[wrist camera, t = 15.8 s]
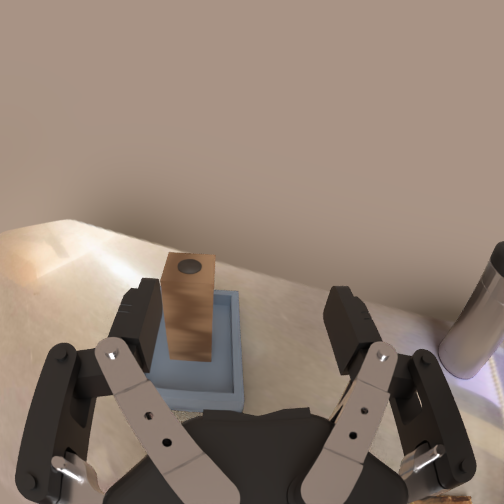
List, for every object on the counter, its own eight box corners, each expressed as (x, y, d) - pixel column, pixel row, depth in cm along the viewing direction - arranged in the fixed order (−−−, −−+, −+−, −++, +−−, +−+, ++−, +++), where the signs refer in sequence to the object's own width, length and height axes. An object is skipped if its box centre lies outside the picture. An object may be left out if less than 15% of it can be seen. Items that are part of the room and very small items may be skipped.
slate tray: (236, 306, 43) (238, 291, 41) (241, 413, 27) (244, 401, 26) (158, 301, 41) (156, 285, 40) (133, 404, 26) (128, 391, 24)
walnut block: (212, 332, 36) (215, 253, 30) (211, 362, 32) (214, 282, 26) (174, 329, 36) (168, 250, 29) (170, 359, 31) (160, 279, 25)
